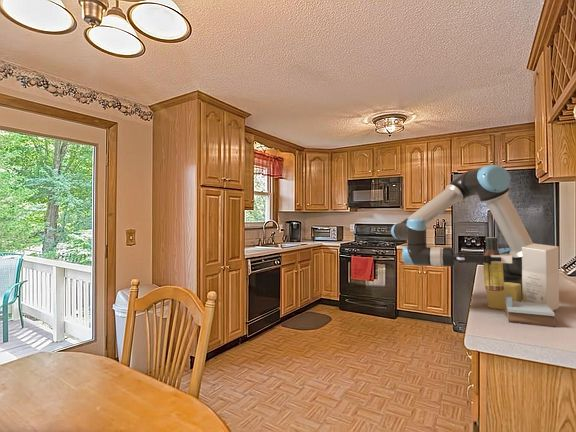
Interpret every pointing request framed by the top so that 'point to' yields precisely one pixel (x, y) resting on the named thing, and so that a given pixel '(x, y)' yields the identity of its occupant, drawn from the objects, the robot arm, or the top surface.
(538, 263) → the tall white carton
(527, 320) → the brown flat block
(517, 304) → the lid
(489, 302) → the cheese
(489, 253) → the sauce bottle
